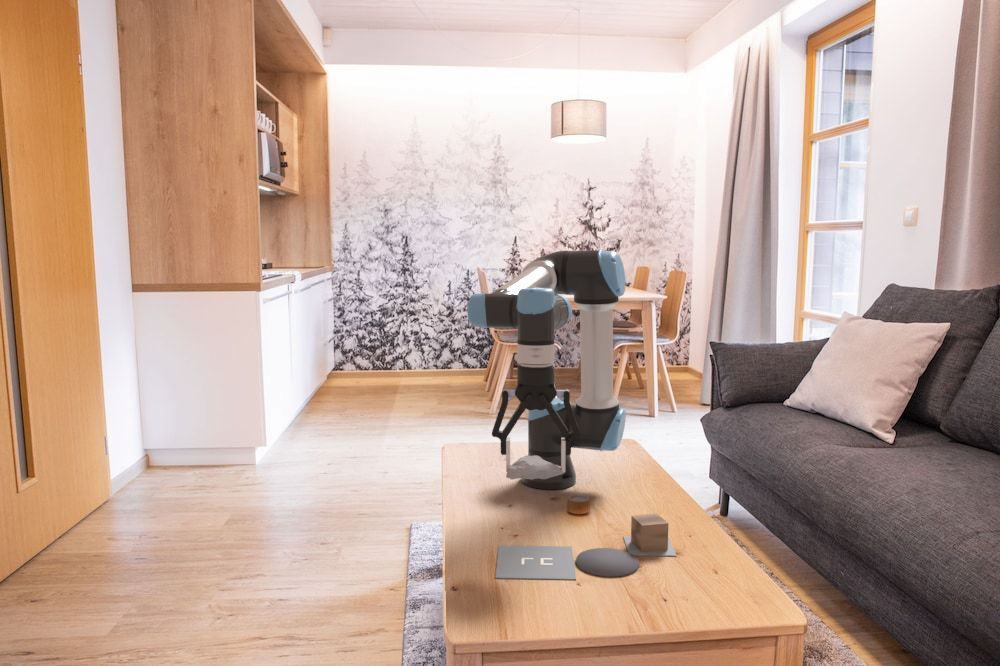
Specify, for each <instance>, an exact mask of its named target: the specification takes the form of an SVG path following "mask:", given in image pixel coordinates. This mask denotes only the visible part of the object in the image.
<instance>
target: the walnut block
mask: <svg viewBox="0 0 1000 666" xmlns="http://www.w3.org/2000/svg"><path fill="white" fill-rule="evenodd" d="M630 516H631V522H630V525H631V526H630V527H631V528H630V531H631V533H630V537H631V542H632V543H633V544H634V545H635V546H636V547H637V548H638V549H639V550H640V551H641V552H652V551H662V550H668V538H669V522H667V521H666V520H665V519H664V518H663V517H662V516H661V515H659V514H658V513H648V514H636V515H634V514H633V515H630Z"/></svg>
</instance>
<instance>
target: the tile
mask: <svg viewBox="0 0 1000 666" xmlns="http://www.w3.org/2000/svg"><path fill="white" fill-rule="evenodd" d="M623 540H624V544H625V547H626V550H627V552H629V553H631V554H633V555H634V556H636V557H677V554H676V551H675V550H674V547H673V545H672V542H671V541H670V539H669V537H668V550H662V551H652V552H641V551H640V550H639V549H638V548H637V547H636V546H635V545H634V544H633V543H632V542H631V536H623Z"/></svg>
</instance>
